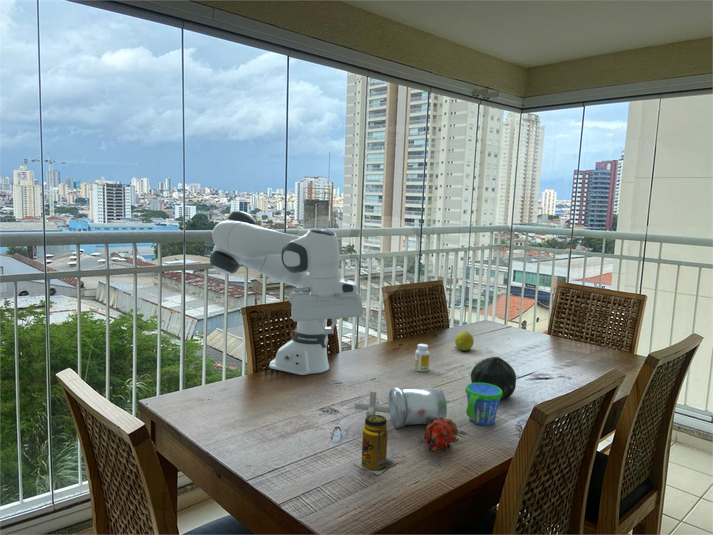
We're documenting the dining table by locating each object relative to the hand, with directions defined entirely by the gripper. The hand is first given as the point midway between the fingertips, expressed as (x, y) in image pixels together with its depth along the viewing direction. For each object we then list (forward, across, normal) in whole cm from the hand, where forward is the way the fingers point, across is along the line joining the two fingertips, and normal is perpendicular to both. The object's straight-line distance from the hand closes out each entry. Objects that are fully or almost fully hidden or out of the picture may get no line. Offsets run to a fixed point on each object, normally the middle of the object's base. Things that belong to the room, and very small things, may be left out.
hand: (328, 333), depth 149 cm
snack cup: (+30, +44, -1) cm, 54 cm away
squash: (+32, +55, +19) cm, 67 cm away
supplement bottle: (+31, +37, +46) cm, 66 cm away
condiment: (+27, +9, -26) cm, 38 cm away
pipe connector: (+27, +11, -4) cm, 29 cm away
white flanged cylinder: (+28, +24, -2) cm, 37 cm away
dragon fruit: (+28, +27, -18) cm, 43 cm away
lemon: (+34, +63, +73) cm, 102 cm away
